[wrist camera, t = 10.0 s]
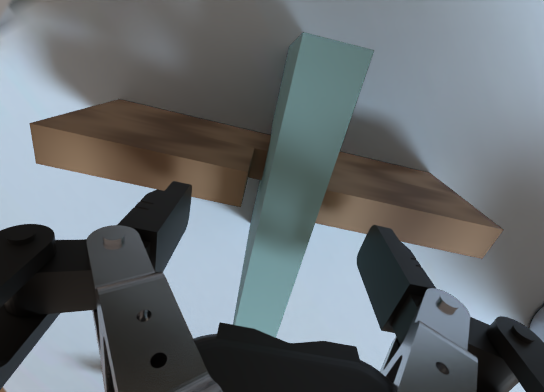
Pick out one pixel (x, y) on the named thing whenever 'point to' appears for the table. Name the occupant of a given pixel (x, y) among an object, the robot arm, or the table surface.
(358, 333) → the table surface
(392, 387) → the robot arm
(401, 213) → the walnut slotted plate
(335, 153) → the teal slotted plate
